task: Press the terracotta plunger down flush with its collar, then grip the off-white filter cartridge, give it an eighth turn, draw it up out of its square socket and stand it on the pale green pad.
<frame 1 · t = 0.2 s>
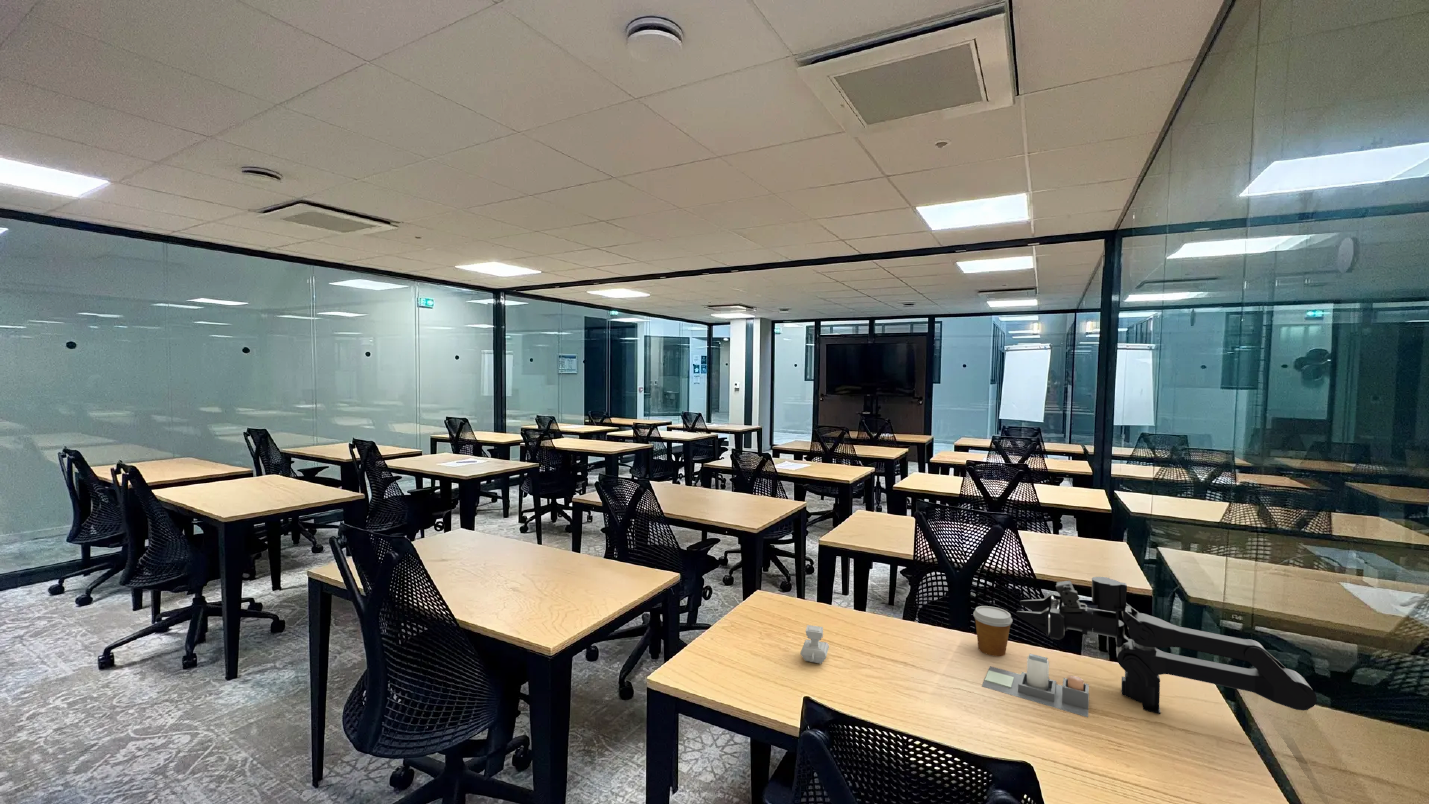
hand: (1018, 607, 141), 16 cm above the table, tool horizontal, fingers open, 9 cm apart
cartridge: (1037, 690, 130), point 1 cm above the table, touching housing
disposable coffee cup: (991, 656, 150), on the table
housing: (1034, 695, 130), on the table
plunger: (1075, 686, 125), point 5 cm above the table, slide at 0.0 cm
stamp: (814, 660, 146), on the table
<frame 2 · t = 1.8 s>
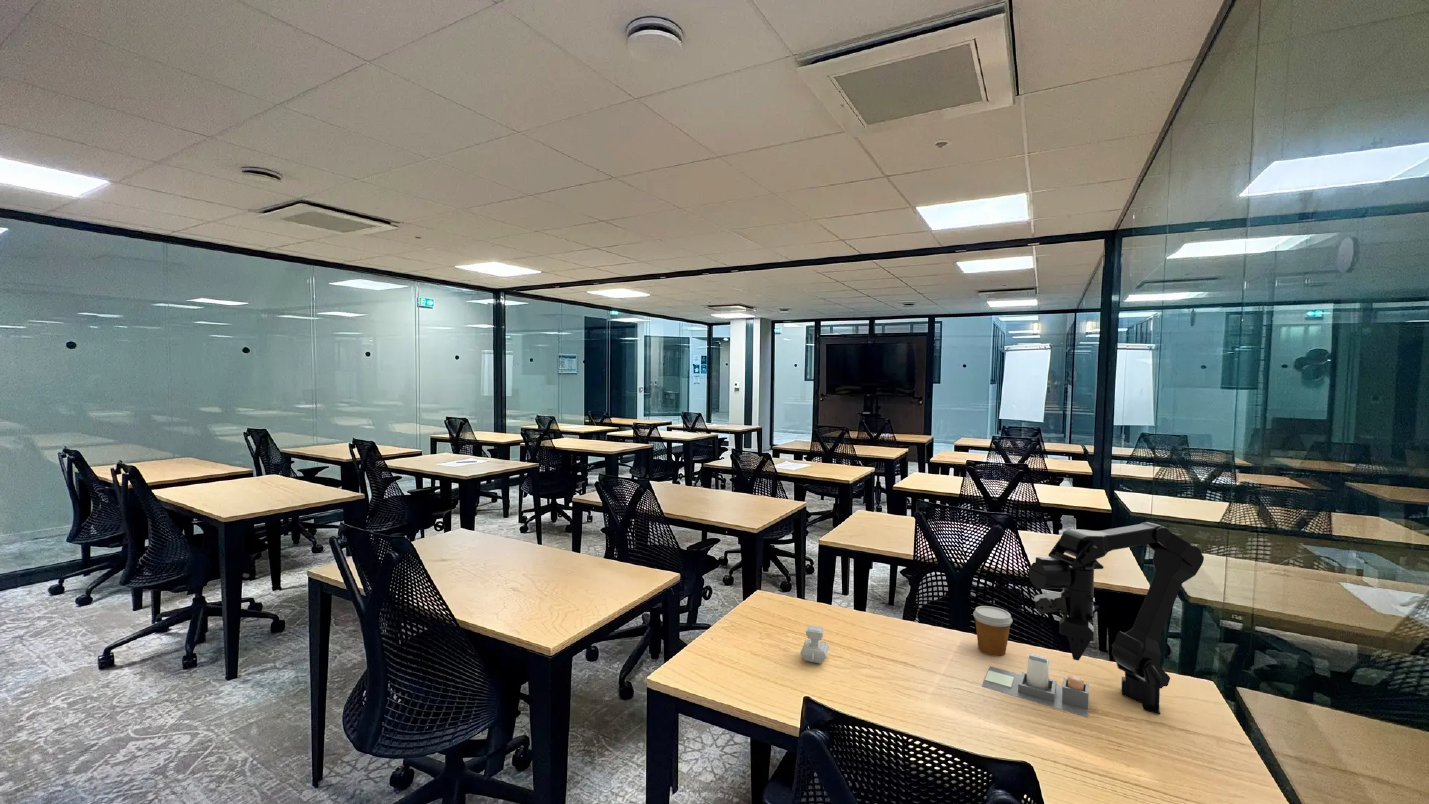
hand: (1076, 655, 125), 12 cm above the table, tool pointing down, fingers open, 5 cm apart
nothing on the table moved.
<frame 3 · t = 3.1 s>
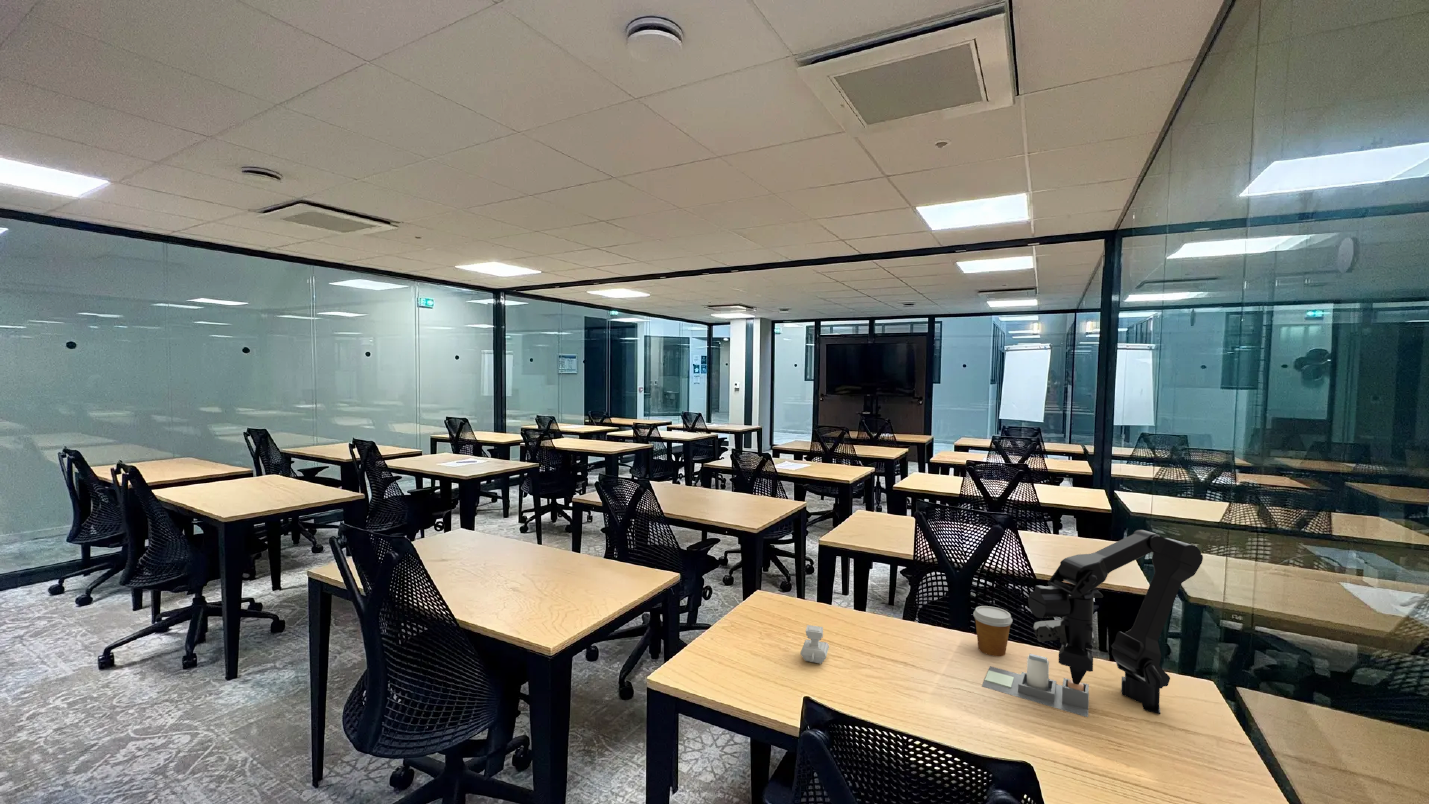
hand: (1075, 683, 125), 6 cm above the table, tool pointing down, fingers closed, pressing on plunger
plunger: (1075, 690, 125), point 4 cm above the table, slide at 1.0 cm, touching gripper
everything else where it was.
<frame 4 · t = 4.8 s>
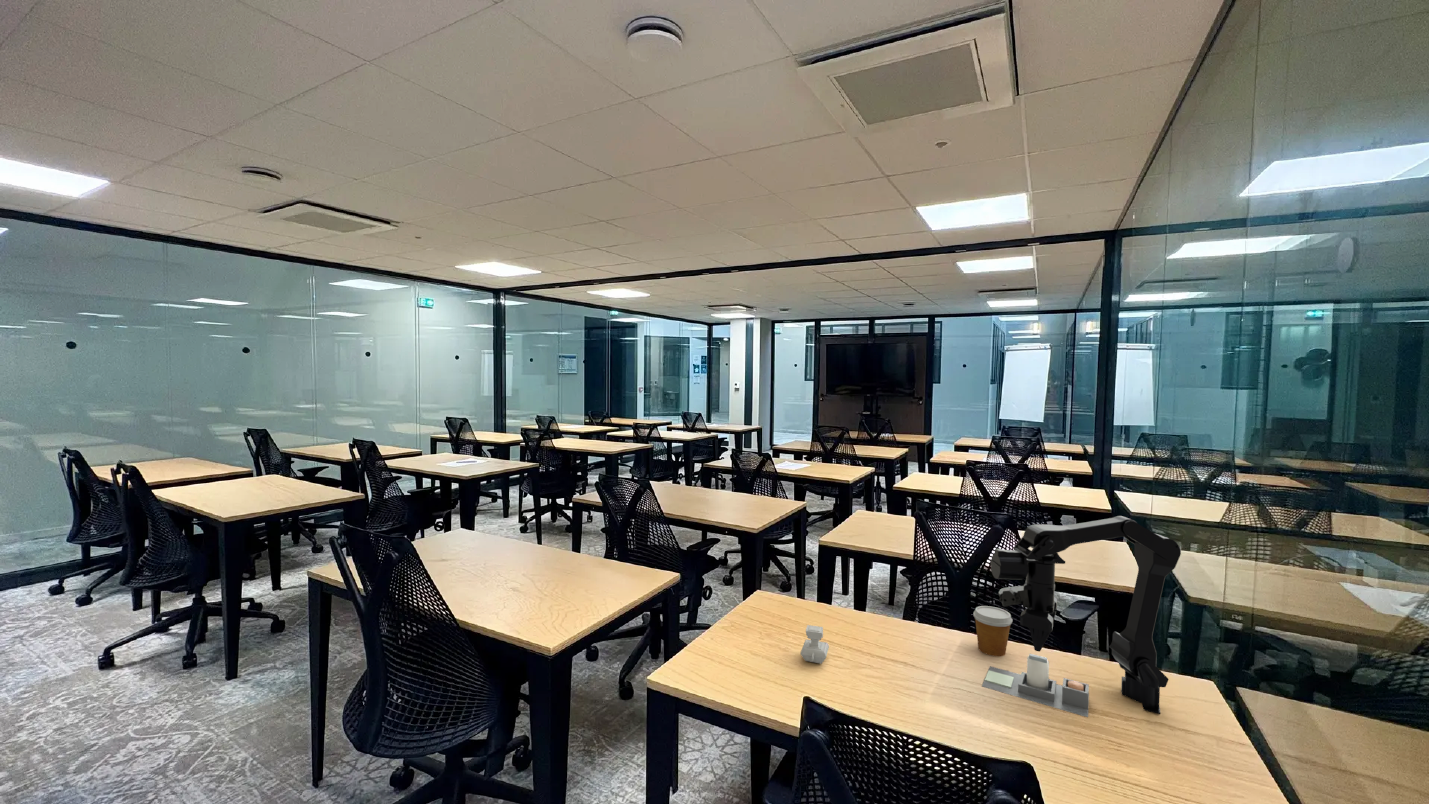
hand: (1038, 646, 129), 12 cm above the table, tool pointing down, fingers open, 6 cm apart
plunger: (1075, 691, 125), point 4 cm above the table, slide at 1.2 cm
everything else where it was.
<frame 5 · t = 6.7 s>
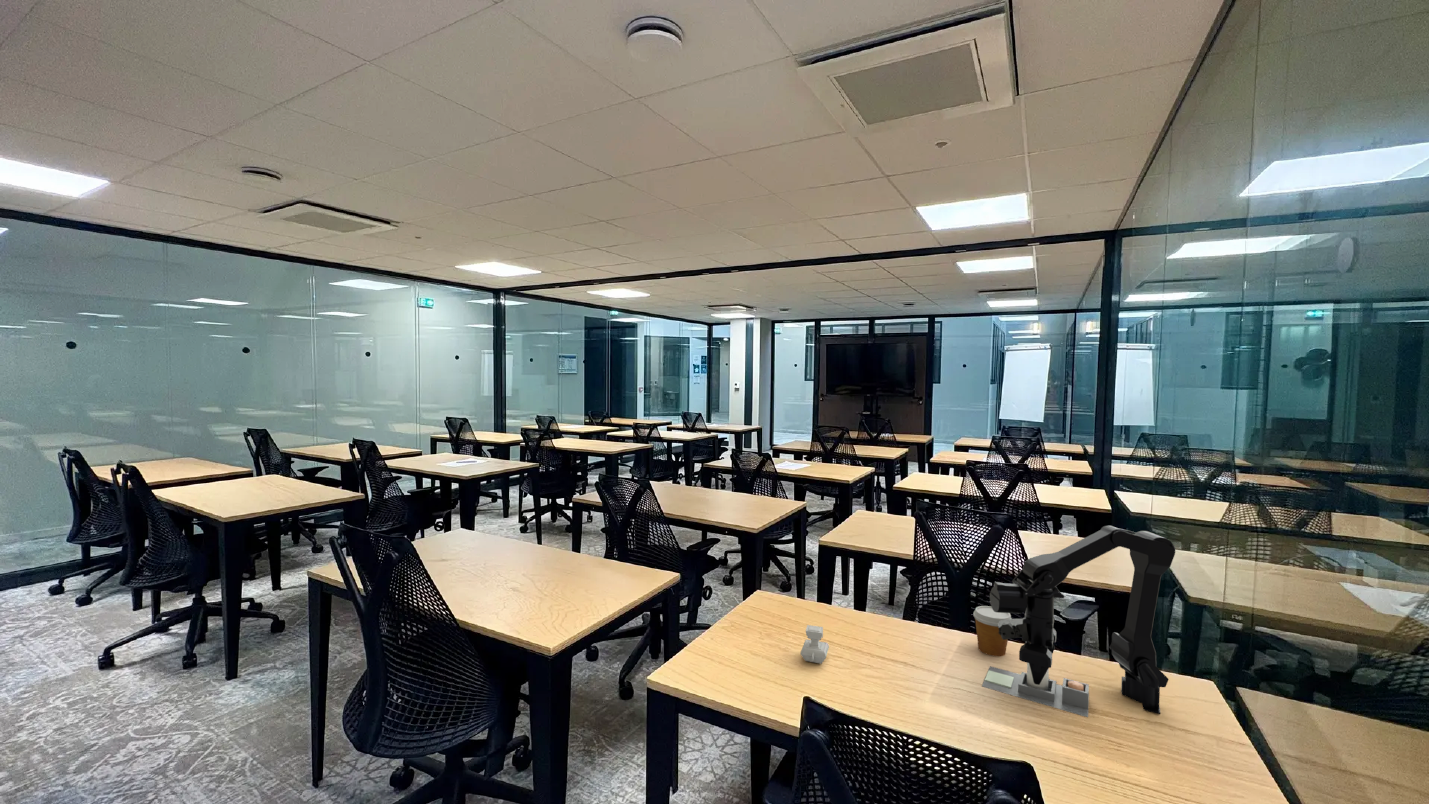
hand: (1037, 679, 130), 4 cm above the table, tool pointing down, fingers closed on cartridge, 4 cm apart
cartridge: (1037, 690, 130), point 1 cm above the table, touching gripper, housing
everything else where it was.
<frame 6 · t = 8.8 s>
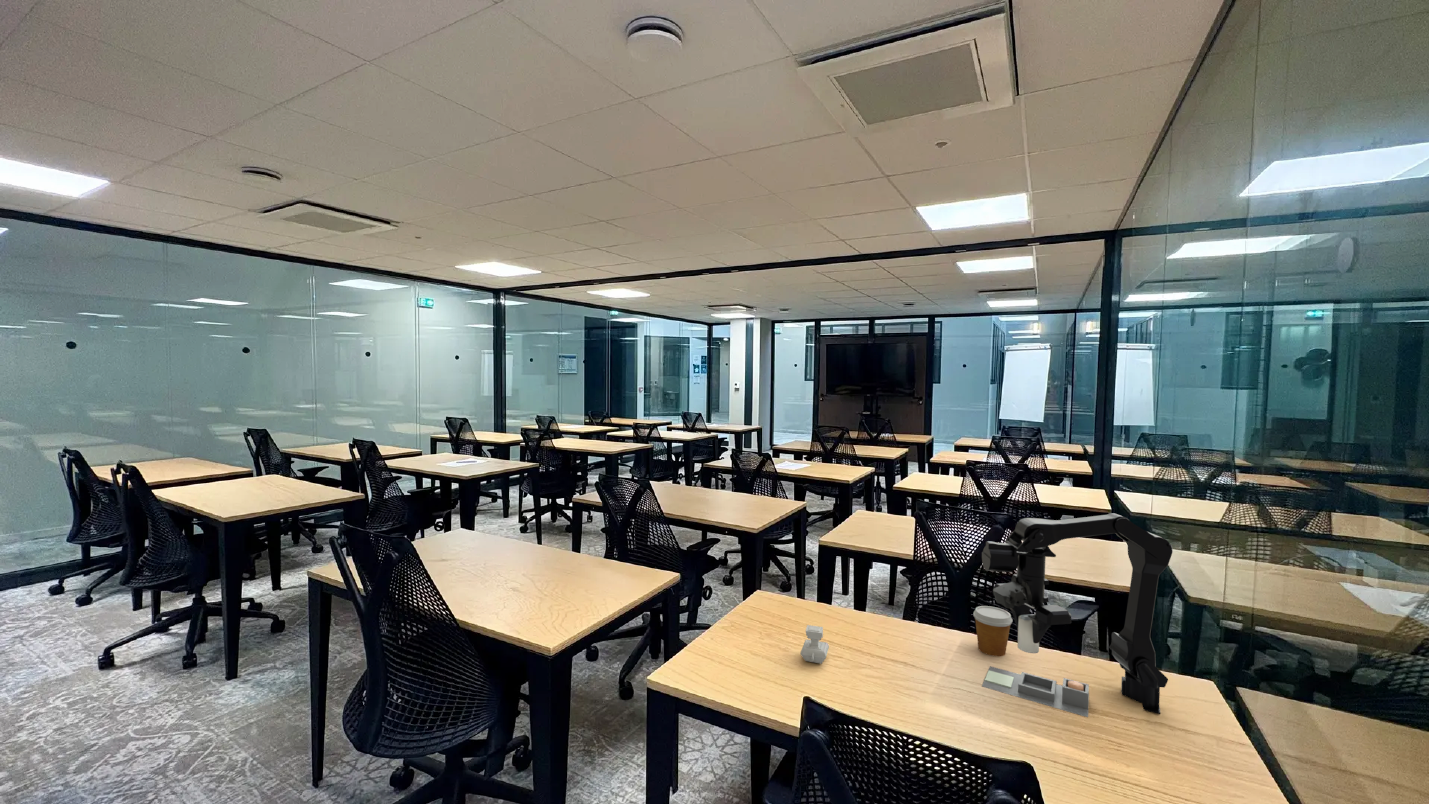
hand: (1028, 638, 131), 13 cm above the table, tool pointing down, fingers closed on cartridge, 4 cm apart
cartridge: (1028, 649, 131), point 11 cm above the table, touching gripper
everything else where it was.
when the fingers open (6 cm above the table, at t = 10.8 s): cartridge drops 1 cm, resting on housing.
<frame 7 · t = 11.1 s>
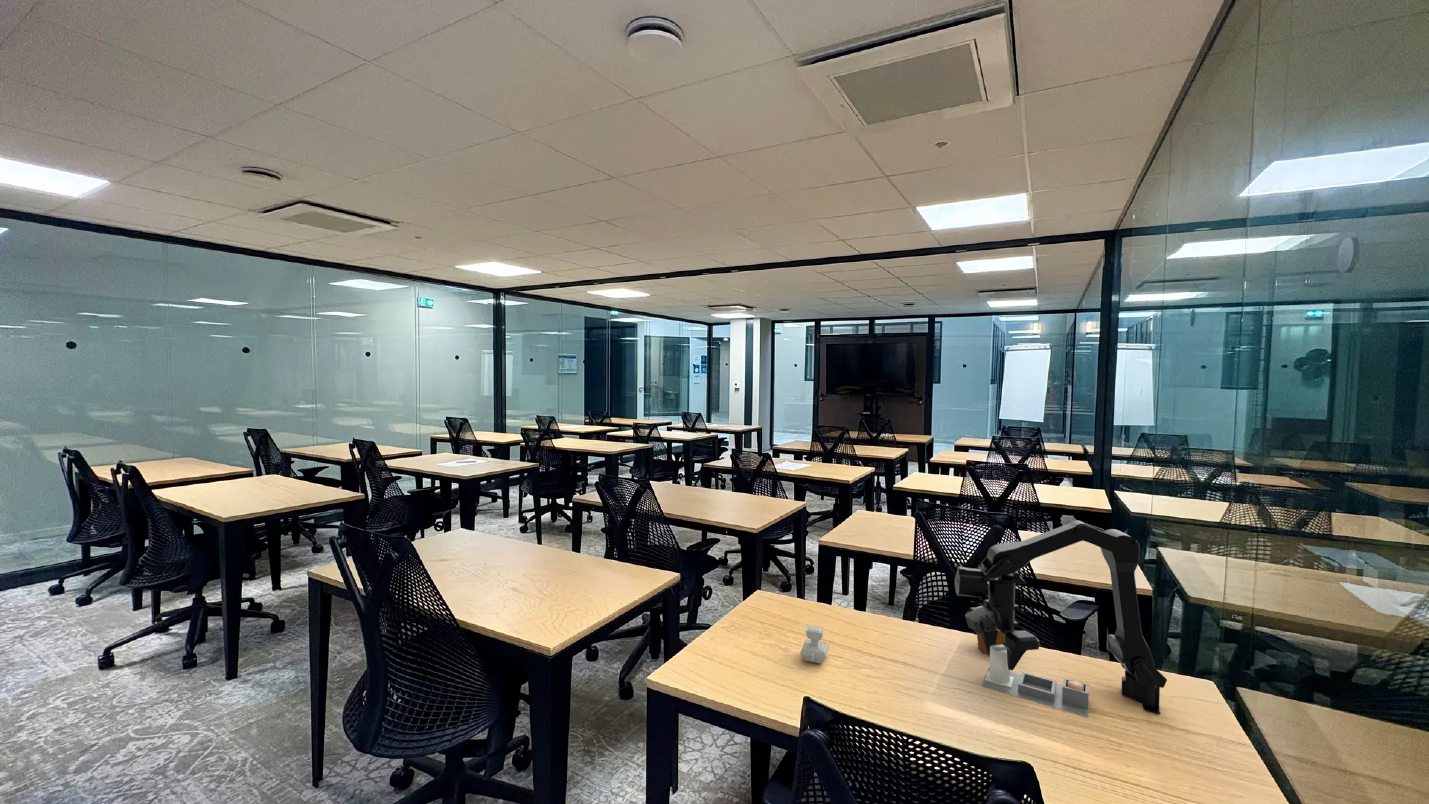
hand: (1000, 662, 134), 6 cm above the table, tool pointing down, fingers open, 7 cm apart
cartridge: (999, 678, 134), point 2 cm above the table, touching housing
everything else where it was.
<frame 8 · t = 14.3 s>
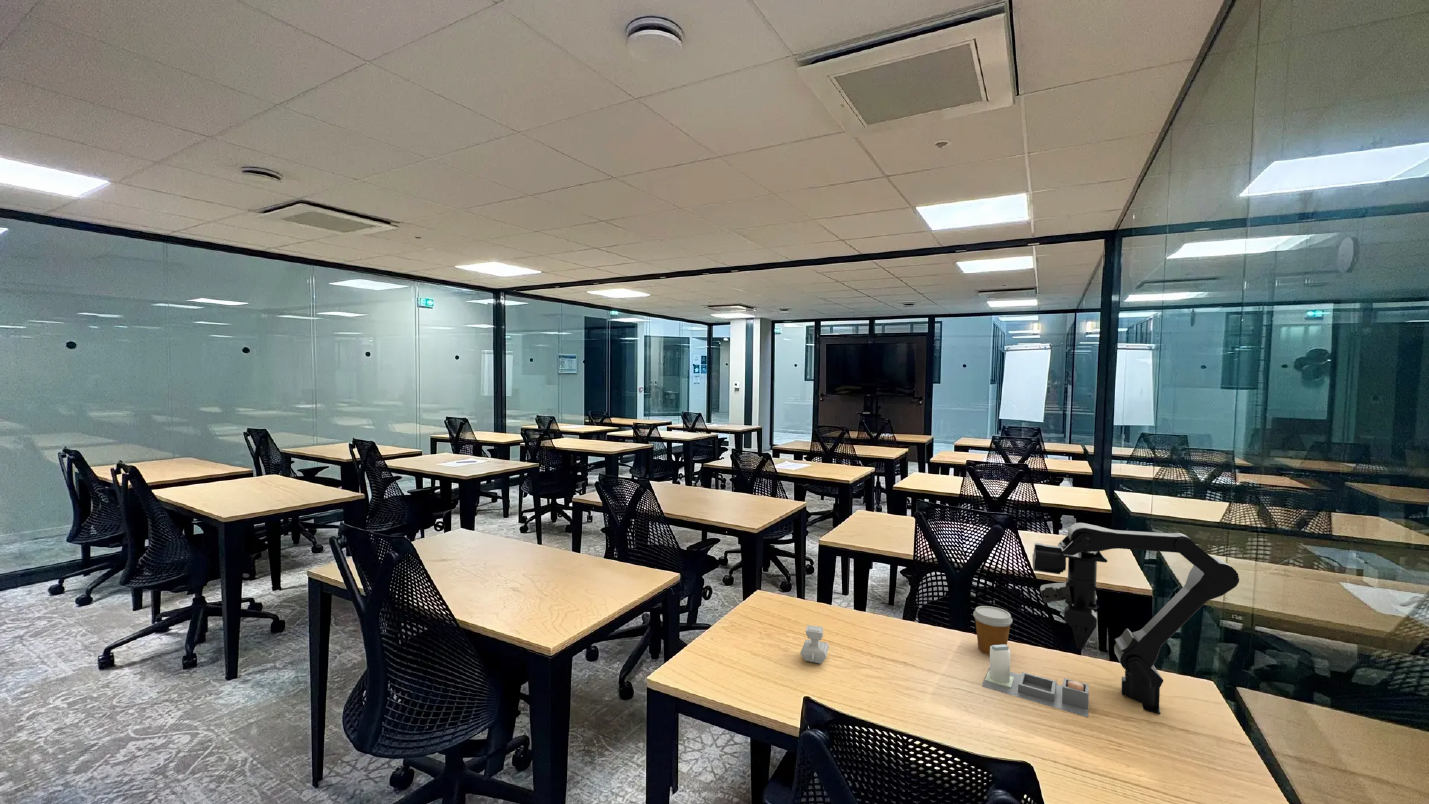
hand: (1080, 641, 132), 12 cm above the table, tool pointing down, fingers open, 9 cm apart
nothing on the table moved.
at the end: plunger slide at 1.2 cm; cartridge 0.0 cm from the target spot on the housing, point 1.8 cm above the housing's base; cartridge tilted 0° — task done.
